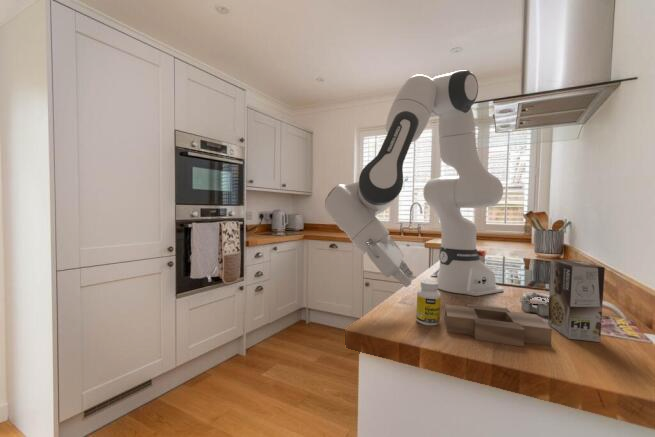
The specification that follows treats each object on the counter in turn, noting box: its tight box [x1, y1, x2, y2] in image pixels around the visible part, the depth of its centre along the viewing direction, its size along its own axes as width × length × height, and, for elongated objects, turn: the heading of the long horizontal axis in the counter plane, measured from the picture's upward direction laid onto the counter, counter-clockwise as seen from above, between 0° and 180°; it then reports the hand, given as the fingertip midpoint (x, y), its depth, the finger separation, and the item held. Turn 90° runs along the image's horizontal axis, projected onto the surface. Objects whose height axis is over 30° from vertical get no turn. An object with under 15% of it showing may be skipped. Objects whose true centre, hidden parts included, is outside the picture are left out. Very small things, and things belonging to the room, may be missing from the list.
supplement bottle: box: [415, 279, 442, 326], centre depth 74 cm, size 5×5×10 cm
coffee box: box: [547, 259, 606, 343], centre depth 69 cm, size 9×6×16 cm
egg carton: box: [519, 292, 549, 317], centre depth 85 cm, size 11×8×4 cm
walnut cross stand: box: [443, 303, 553, 347], centre depth 70 cm, size 14×20×4 cm
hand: (410, 280), depth 75 cm, fingers open, 8 cm apart
